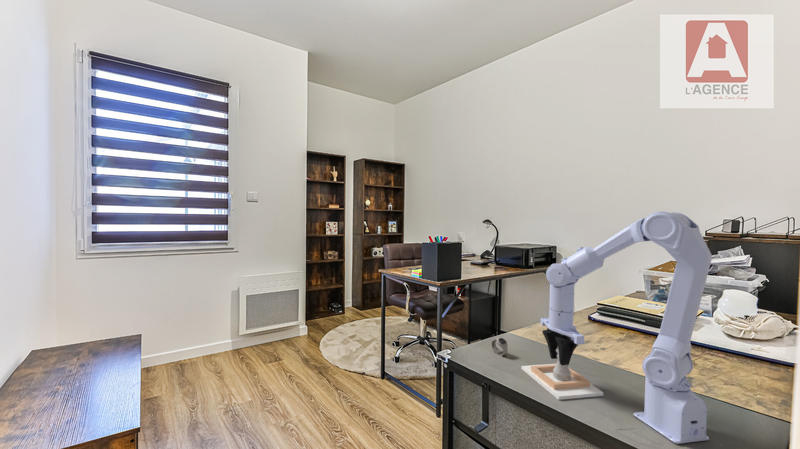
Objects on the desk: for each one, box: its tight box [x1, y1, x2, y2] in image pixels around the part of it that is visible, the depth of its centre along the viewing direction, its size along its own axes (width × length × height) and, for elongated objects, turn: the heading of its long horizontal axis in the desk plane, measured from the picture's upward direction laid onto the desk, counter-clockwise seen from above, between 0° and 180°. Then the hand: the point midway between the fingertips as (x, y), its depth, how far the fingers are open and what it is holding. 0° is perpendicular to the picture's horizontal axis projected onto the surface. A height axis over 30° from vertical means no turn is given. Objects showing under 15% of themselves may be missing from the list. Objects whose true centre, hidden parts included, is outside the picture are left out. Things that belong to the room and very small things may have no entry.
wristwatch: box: [490, 337, 509, 357], centre depth 104 cm, size 4×6×5 cm, turn 22°
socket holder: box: [520, 363, 604, 401], centre depth 86 cm, size 16×12×2 cm
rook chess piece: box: [553, 346, 571, 381], centre depth 87 cm, size 4×4×8 cm
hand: (559, 361), depth 86 cm, fingers closed on rook chess piece, 3 cm apart
